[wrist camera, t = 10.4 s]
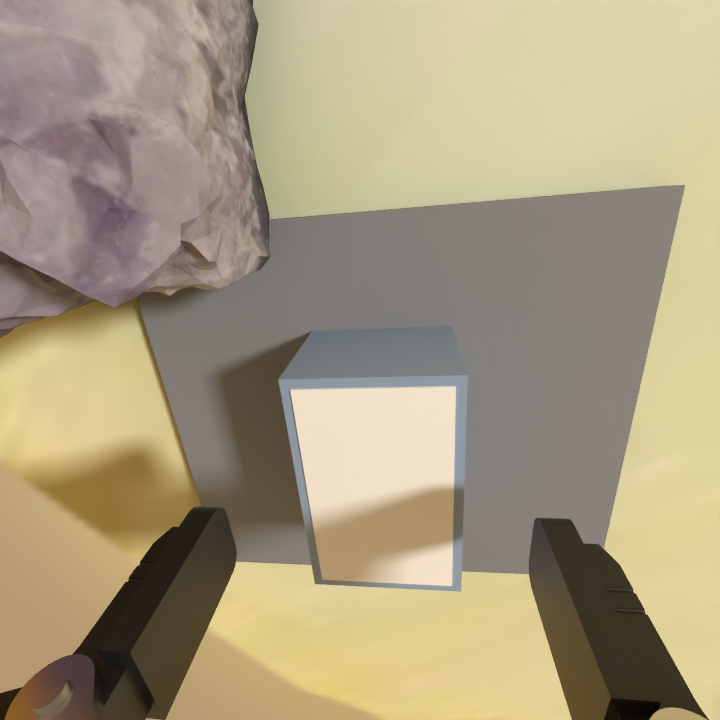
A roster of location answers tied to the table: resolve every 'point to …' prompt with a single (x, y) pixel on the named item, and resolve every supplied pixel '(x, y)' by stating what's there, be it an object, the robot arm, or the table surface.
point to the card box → (380, 454)
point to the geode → (124, 152)
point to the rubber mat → (475, 340)
